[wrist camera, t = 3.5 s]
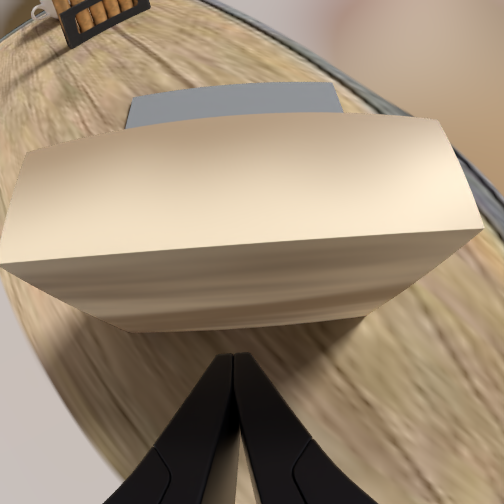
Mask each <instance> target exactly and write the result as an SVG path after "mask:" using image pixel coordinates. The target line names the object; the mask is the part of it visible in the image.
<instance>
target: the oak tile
mask: <svg viewBox="0 0 504 504" xmlns="http://www.w3.org/2000/svg"><path fill="white" fill-rule="evenodd" d="M483 229H484V225H483V222H482V219H481V216H480V213H479V211H478V208H477V205H476V203H475V200H474V197H473V195H472V192H471V190H470V187H469V185H468V182H467V180H466V178H465V175H464V173H463V171H462V168H461V166H460V164H459V162H458V159H457V157H456V155H455V153H454V151H453V149H452V147H451V145H450V142H449V140H448V138H447V136H446V135H445V133H444V131H443V129H442V127H441V125H440V123H439V121H438V120H434V119H426V118H417V117H406V116H395V115H381V114H363V113H331V112H297V113H265V114H247V115H232V116H220V117H209V118H200V119H191V120H182V121H175V122H167V123H160V124H153V125H147V126H141V127H135V128H129V129H123V130H118V131H113V132H108V133H103V134H98V135H93V136H89V137H84V138H80V139H75V140H71V141H67V142H63V143H59V144H55V145H51V146H48V147H44V148H40V149H37V150H33V151H30V152H27V153H26V156H25V158H24V161H23V164H22V167H21V170H20V173H19V176H18V179H17V182H16V185H15V188H14V191H13V194H12V198H11V201H10V205H9V208H8V212H7V216H6V220H5V223H4V228H3V232H2V236H1V240H0V267H1V268H3V269H5V270H6V271H8V272H10V273H12V274H13V275H15V276H17V277H18V278H20V279H22V280H24V281H25V282H27V283H29V284H31V285H33V286H34V287H36V288H38V289H40V290H42V291H44V292H46V293H47V294H49V295H51V296H53V297H55V298H57V299H59V300H61V301H63V302H65V303H67V304H69V305H71V306H73V307H75V308H77V309H79V310H81V311H83V312H85V313H87V314H89V315H91V316H93V317H96V318H98V319H100V320H102V321H104V322H106V323H109V324H111V325H113V326H115V327H117V328H120V329H122V330H124V331H127V332H129V333H142V332H181V331H205V330H224V329H240V328H254V327H267V326H279V325H290V324H300V323H310V322H320V321H329V320H337V319H346V318H354V317H361V316H367V315H368V314H370V313H371V312H373V311H375V310H376V309H378V308H379V307H381V306H382V305H384V304H385V303H386V302H388V301H389V300H391V299H392V298H394V297H395V296H397V295H398V294H400V293H401V292H402V291H404V290H405V289H407V288H408V287H410V286H411V285H412V284H414V283H415V282H416V281H418V280H419V279H421V278H422V277H423V276H425V275H426V274H427V273H429V272H430V271H431V270H433V269H434V268H435V267H437V266H438V265H439V264H441V263H442V262H443V261H445V260H446V259H447V258H449V257H450V256H451V255H452V254H454V253H455V252H456V251H457V250H459V249H460V248H461V247H462V246H464V245H465V244H466V243H467V242H469V241H470V240H471V239H472V238H474V237H475V236H476V235H477V234H478V233H480V232H481V231H482V230H483Z"/></svg>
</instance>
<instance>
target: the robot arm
mask: <svg viewBox="0 0 504 504" xmlns="http://www.w3.org/2000/svg"><path fill="white" fill-rule="evenodd" d="M240 431H241V437H242V442H243V447H244V451H245V456H246V460H247V465H248V469H249V474H250V478H251V482H252V487H253V491H254V495H255V499H256V503H257V504H378V503H377V502H376V501H375V500H373V499H372V498H371V497H370V496H369V495H368V494H366V493H365V492H364V491H363V490H362V489H361V488H359V487H358V486H357V485H356V484H355V483H354V482H353V481H352V480H350V479H349V478H348V477H347V476H346V475H345V474H344V473H343V472H342V471H341V470H340V469H339V468H338V467H337V466H336V465H335V464H334V463H333V461H332V460H331V459H330V458H329V457H328V456H327V454H326V453H325V452H324V451H323V450H322V448H321V447H320V446H319V445H318V443H317V442H316V441H315V440H314V439H312V436H311V435H310V433H309V432H308V431H307V429H306V428H305V427H304V425H303V424H302V423H301V422H300V420H299V419H298V418H297V416H296V415H295V414H294V412H293V411H292V410H291V408H290V407H289V406H288V404H287V403H286V402H285V400H284V399H283V397H282V396H281V395H280V393H279V392H278V391H277V389H276V388H275V387H274V385H273V384H272V382H271V381H270V380H269V378H268V377H267V375H266V374H265V373H264V371H263V370H262V368H261V367H260V366H259V364H258V363H257V361H256V360H255V359H254V357H253V356H252V354H251V353H249V352H243V353H235V354H234V356H233V354H231V353H229V354H218V355H216V357H215V358H214V360H213V361H212V362H211V364H210V365H209V367H208V368H207V370H206V371H205V373H204V374H203V375H202V377H201V378H200V380H199V381H198V383H197V384H196V386H195V387H194V388H193V390H192V391H191V393H190V394H189V396H188V397H187V398H186V400H185V401H184V403H183V404H182V406H181V407H180V408H179V410H178V411H177V413H176V414H175V416H174V417H173V418H172V420H171V421H170V423H169V424H168V425H167V427H166V428H165V430H164V431H163V432H162V434H161V435H160V437H159V438H158V439H157V441H156V442H155V444H154V447H151V449H150V450H149V452H148V453H147V454H146V456H145V457H144V458H143V460H142V461H141V462H140V464H139V465H138V466H137V467H136V469H135V470H134V471H133V472H132V474H131V475H130V476H129V477H128V478H127V479H126V480H125V481H124V482H123V483H122V485H121V486H120V487H119V488H118V489H117V490H116V491H115V492H114V493H113V494H112V495H111V496H110V497H109V498H108V499H107V500H106V501H105V502H104V503H103V504H235V495H236V482H237V470H238V457H239V444H240Z"/></svg>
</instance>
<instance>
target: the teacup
mask: <svg viewBox="0 0 504 504" xmlns="http://www.w3.org/2000/svg"><path fill="white" fill-rule="evenodd" d="M40 2H41V5H37V6H36V7H34V9H33V10H32V12H31V17H32V19H34V20H43V19H46V18H49V17H53V18H56V19H58V16H57V13H56V10H55V8H54V5H53V2H52V0H40ZM68 2H69V4H70V1H69V0H68ZM38 8H41V9H44V10H45V11H46V13H47V14H46V15H45V16H43V17H41V18H36V17H35V16H34V11H35V10H36V9H38Z"/></svg>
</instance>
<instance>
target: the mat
mask: <svg viewBox="0 0 504 504" xmlns="http://www.w3.org/2000/svg"><path fill="white" fill-rule="evenodd" d="M297 112H331V113H344V112H343V110H342V107H341V104H340V102H339V99H338V96H337V94H336V91H335V89H334V86H333V84H332V83H326V82H271V83H248V84H233V85H221V86H210V87H200V88H192V89H184V90H176V91H169V92H163V93H156V94H150V95H145V96H139V97H134V98H133V100H132V104H131V108H130V112H129V116H128V120H127V124H126V128H125V129H129V128H135V127H141V126H147V125H153V124H160V123H167V122H175V121H182V120H191V119H200V118H209V117H220V116H232V115H247V114H265V113H297Z"/></svg>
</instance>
